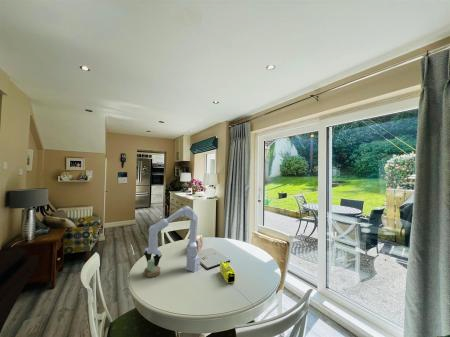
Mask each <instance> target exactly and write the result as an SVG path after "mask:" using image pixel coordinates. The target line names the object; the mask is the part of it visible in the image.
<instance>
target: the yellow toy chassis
mask: <svg viewBox="0 0 450 337" xmlns="http://www.w3.org/2000/svg"><path fill="white" fill-rule="evenodd" d="M219 272H220V273H221V277H222V279H224V280H225V282H226V284H232V283H235V282H236V272H235V270H234V269H233V267H232V266H231V264H230V263H229V262H223V261H222V260H221V261H220V262H219Z"/></svg>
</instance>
